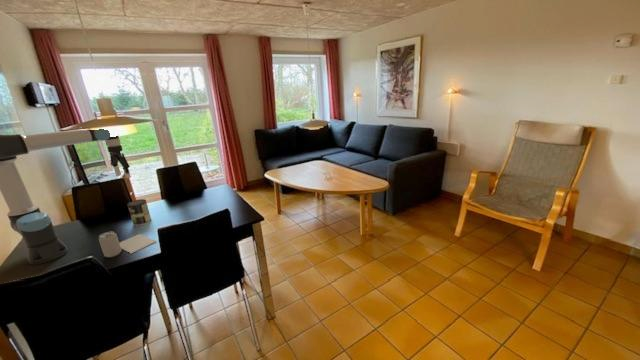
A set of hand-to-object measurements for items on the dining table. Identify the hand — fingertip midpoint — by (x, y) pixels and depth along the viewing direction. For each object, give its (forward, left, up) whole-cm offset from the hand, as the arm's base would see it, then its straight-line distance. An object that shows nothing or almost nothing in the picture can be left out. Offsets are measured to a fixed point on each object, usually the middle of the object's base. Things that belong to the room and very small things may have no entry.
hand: (123, 176), depth 180 cm
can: (-31, -44, -28) cm, 61 cm away
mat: (-20, -44, -28) cm, 56 cm away
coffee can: (-4, -18, -28) cm, 34 cm away
